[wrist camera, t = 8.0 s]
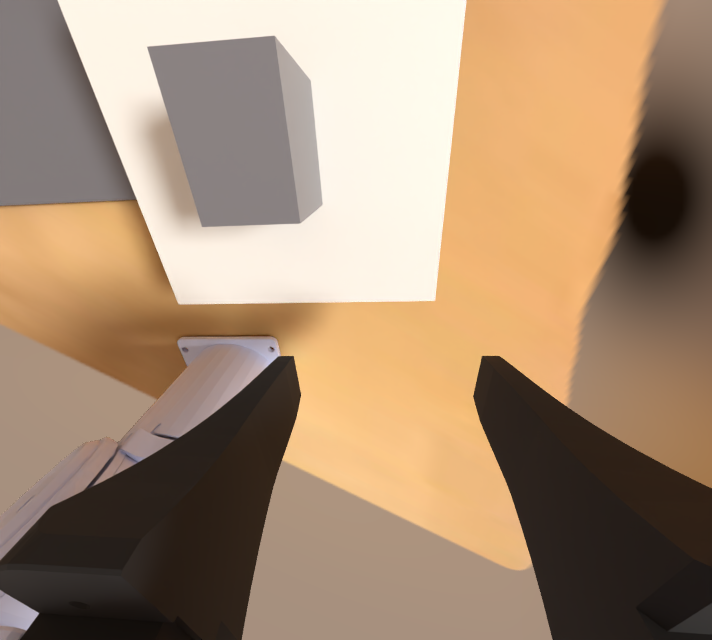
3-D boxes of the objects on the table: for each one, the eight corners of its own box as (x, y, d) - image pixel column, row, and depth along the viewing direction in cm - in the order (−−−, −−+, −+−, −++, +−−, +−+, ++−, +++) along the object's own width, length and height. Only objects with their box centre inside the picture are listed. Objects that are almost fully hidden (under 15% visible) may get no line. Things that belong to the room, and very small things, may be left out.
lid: (431, 292, 14) (455, 349, 10) (189, 296, 15) (116, 349, 11) (471, -129, 8) (587, -476, 4) (51, -76, 9) (-257, -302, 5)
